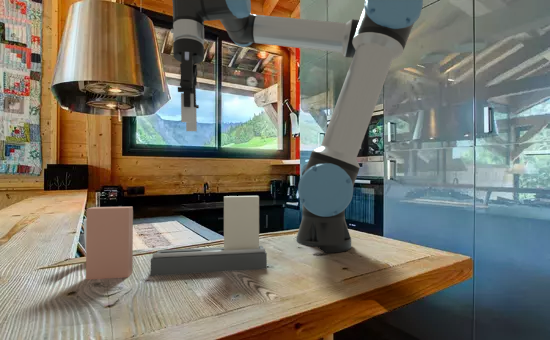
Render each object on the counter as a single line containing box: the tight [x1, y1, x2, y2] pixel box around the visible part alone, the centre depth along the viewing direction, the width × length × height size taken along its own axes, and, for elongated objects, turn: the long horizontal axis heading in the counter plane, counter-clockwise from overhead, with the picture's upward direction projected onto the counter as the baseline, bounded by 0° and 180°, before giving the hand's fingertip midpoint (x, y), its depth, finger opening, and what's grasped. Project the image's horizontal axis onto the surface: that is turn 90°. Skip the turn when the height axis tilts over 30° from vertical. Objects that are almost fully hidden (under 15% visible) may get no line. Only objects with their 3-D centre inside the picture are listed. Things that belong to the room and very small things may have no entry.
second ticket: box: [223, 195, 260, 250], centre depth 60 cm, size 7×2×14 cm, turn 100°
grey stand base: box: [150, 245, 268, 277], centre depth 58 cm, size 22×6×5 cm, turn 100°
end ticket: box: [85, 206, 134, 280], centre depth 53 cm, size 7×2×14 cm, turn 100°
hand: (189, 127), depth 74 cm, fingers open, 13 cm apart
